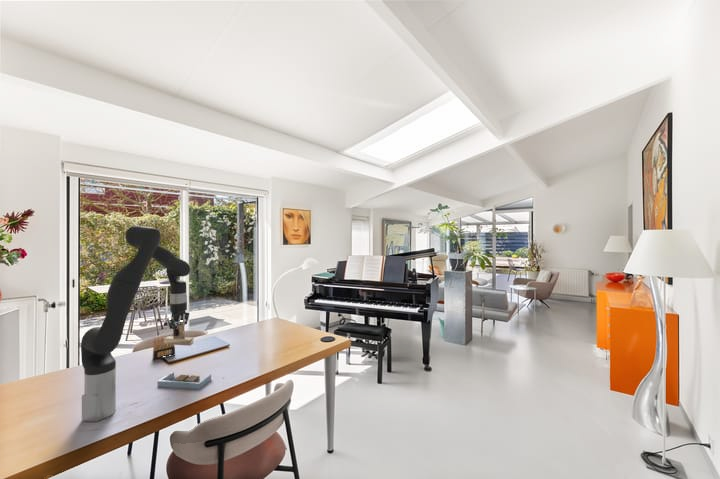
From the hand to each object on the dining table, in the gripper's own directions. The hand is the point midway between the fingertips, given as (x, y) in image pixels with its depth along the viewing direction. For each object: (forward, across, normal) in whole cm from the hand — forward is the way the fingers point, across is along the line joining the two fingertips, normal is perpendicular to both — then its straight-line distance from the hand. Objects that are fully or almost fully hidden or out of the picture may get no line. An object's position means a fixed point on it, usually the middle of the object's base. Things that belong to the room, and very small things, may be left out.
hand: (178, 334), depth 160 cm
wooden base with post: (+5, 0, 0) cm, 5 cm away
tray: (+17, -14, -13) cm, 26 cm away
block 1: (+18, -13, -11) cm, 24 cm away
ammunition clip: (+18, +12, +18) cm, 28 cm away
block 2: (+18, -12, -16) cm, 27 cm away
